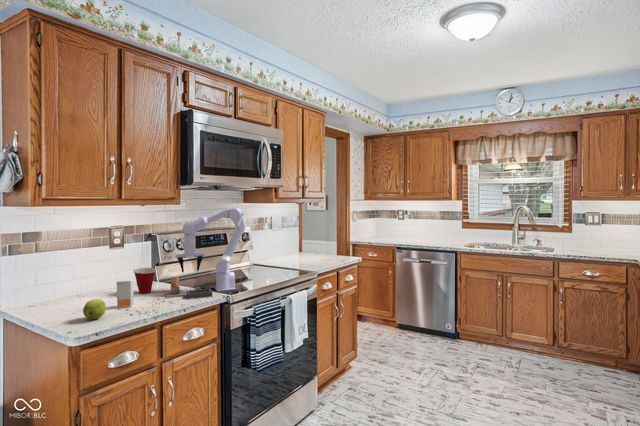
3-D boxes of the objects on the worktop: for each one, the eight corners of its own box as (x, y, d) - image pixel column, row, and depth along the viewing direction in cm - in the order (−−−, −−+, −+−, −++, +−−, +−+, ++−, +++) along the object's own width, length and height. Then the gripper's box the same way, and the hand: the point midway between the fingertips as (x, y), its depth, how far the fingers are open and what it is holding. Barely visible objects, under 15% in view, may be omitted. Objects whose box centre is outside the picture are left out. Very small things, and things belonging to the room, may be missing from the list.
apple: (110, 315, 172) (109, 296, 171) (99, 322, 162) (98, 302, 162) (91, 315, 171) (90, 296, 171) (79, 322, 162) (78, 302, 162)
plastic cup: (141, 296, 204) (141, 272, 204) (129, 293, 210) (128, 270, 210) (161, 291, 213) (160, 268, 212) (148, 289, 219) (148, 266, 219)
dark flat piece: (209, 292, 211) (209, 286, 211) (212, 296, 203) (212, 290, 203) (185, 295, 206) (185, 288, 206) (187, 299, 198) (187, 292, 198)
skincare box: (116, 308, 182) (116, 281, 182) (119, 305, 187) (118, 279, 186) (131, 307, 184) (130, 280, 183) (133, 304, 188) (133, 279, 187)
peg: (178, 292, 209) (178, 276, 208) (180, 293, 205) (179, 278, 205) (170, 293, 207) (169, 277, 207) (171, 295, 203) (171, 279, 203)
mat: (183, 292, 212) (183, 290, 212) (185, 295, 204) (185, 294, 204) (165, 293, 208) (165, 292, 208) (166, 297, 200) (166, 296, 200)
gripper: (176, 247, 209) (176, 273, 210) (205, 245, 215) (205, 271, 216) (174, 245, 216) (175, 271, 216) (203, 244, 222) (203, 269, 222)
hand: (190, 271), depth 217 cm, fingers open, 7 cm apart
